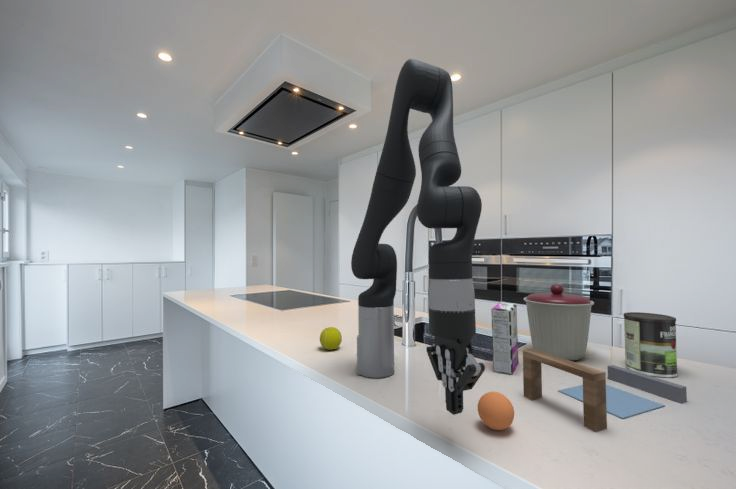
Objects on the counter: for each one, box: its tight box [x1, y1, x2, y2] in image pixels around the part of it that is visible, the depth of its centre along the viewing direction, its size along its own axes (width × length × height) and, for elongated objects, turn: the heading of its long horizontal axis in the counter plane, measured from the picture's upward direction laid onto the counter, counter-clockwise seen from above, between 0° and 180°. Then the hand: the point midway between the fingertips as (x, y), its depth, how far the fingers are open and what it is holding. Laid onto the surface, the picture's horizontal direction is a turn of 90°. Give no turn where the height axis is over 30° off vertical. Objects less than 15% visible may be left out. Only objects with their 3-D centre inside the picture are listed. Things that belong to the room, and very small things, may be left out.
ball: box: [477, 391, 515, 431], centre depth 57 cm, size 6×6×6 cm
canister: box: [523, 283, 595, 362], centre depth 96 cm, size 18×18×21 cm
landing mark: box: [557, 384, 666, 420], centre depth 68 cm, size 13×13×1 cm
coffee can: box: [623, 311, 678, 379], centre depth 84 cm, size 10×10×14 cm
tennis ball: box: [319, 326, 343, 351], centre depth 104 cm, size 7×7×7 cm
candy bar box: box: [490, 302, 520, 375], centre depth 87 cm, size 11×5×16 cm, turn 148°
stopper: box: [607, 364, 688, 404], centre depth 72 cm, size 2×14×3 cm, turn 22°
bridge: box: [522, 348, 608, 433], centre depth 63 cm, size 3×15×10 cm, turn 22°
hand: (454, 411), depth 53 cm, fingers closed
